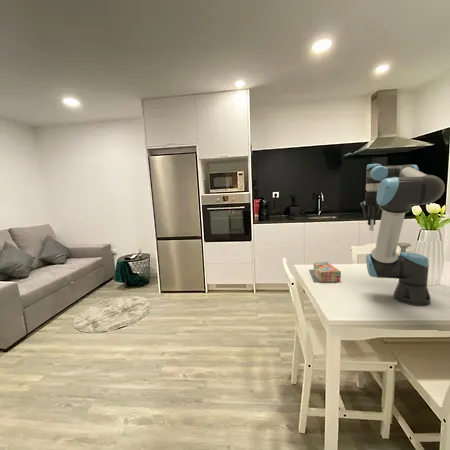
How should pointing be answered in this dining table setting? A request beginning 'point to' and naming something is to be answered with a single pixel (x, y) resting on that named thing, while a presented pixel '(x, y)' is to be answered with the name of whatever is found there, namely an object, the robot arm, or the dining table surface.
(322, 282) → the mat
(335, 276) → the stack of blocks
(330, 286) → the dining table surface
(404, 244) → the candle holder
